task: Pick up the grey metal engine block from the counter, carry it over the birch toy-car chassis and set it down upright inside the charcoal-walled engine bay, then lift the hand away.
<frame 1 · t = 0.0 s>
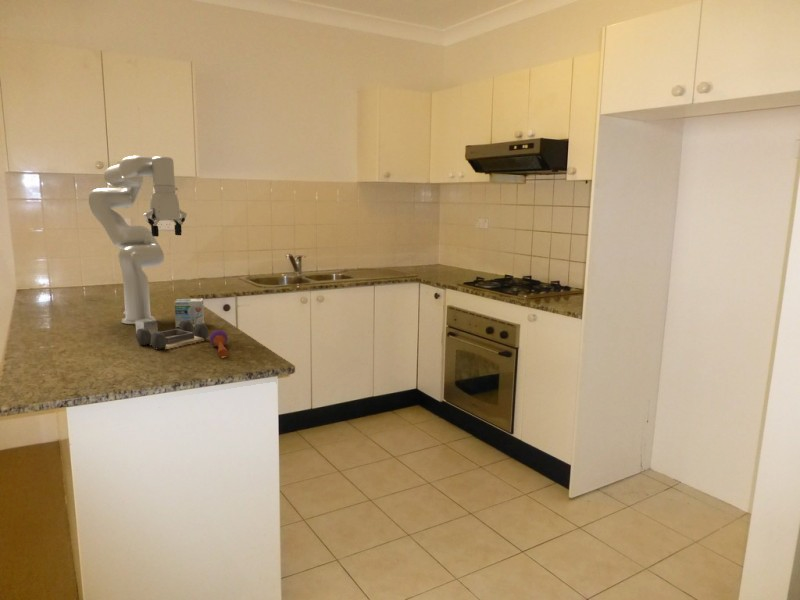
hand: (167, 235, 220), 37 cm above the worktop, tool pointing down, fingers open, 9 cm apart
light bulb box: (190, 326, 233), on the worktop
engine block: (147, 335, 216), on the worktop
chassis board: (172, 342, 207), on the worktop
purple maraca: (220, 351, 196), on the worktop
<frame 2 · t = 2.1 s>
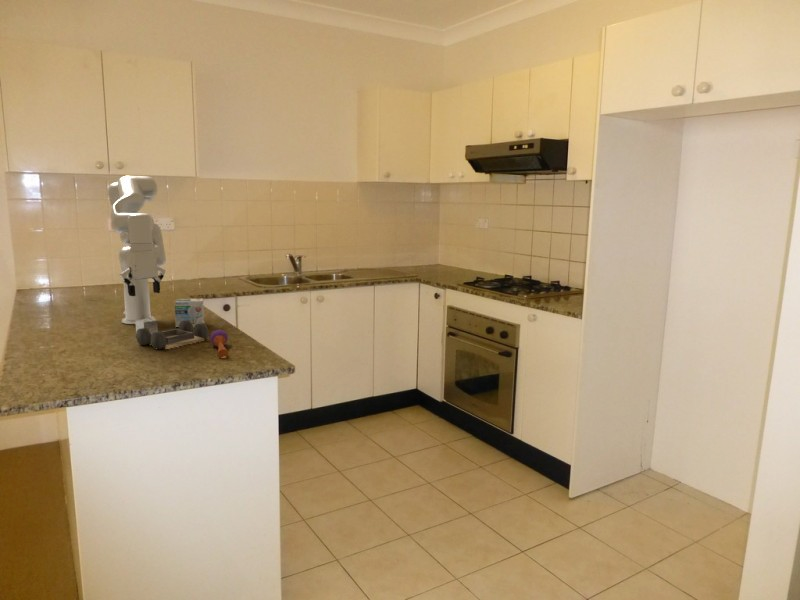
hand: (144, 294, 213), 16 cm above the worktop, tool pointing down, fingers open, 9 cm apart
nothing on the worktop moved.
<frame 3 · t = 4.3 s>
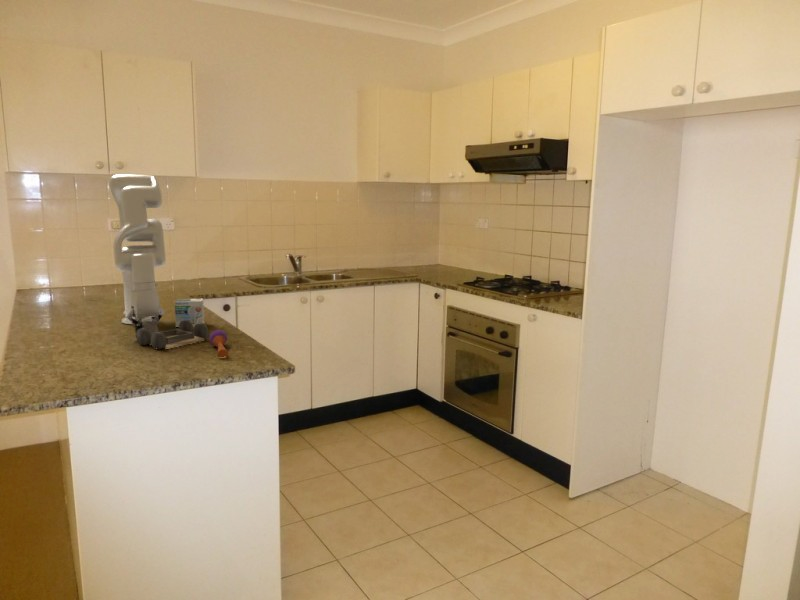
hand: (147, 333, 216), 1 cm above the worktop, tool pointing down, fingers closed on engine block, 5 cm apart
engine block: (147, 335, 216), on the worktop, touching gripper
everything else where it was.
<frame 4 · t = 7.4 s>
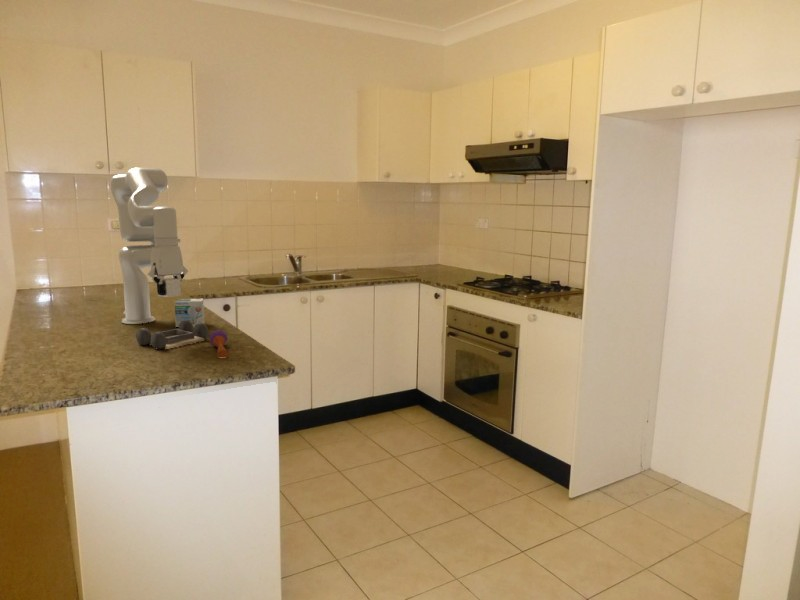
hand: (169, 293, 204), 18 cm above the worktop, tool pointing down, fingers closed on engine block, 5 cm apart
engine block: (169, 295, 204), point 17 cm above the worktop, touching gripper
everything else where it was.
when the fingers open (4 cm above the worktop, at t = 10.4 s): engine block drops 2 cm, resting on chassis board.
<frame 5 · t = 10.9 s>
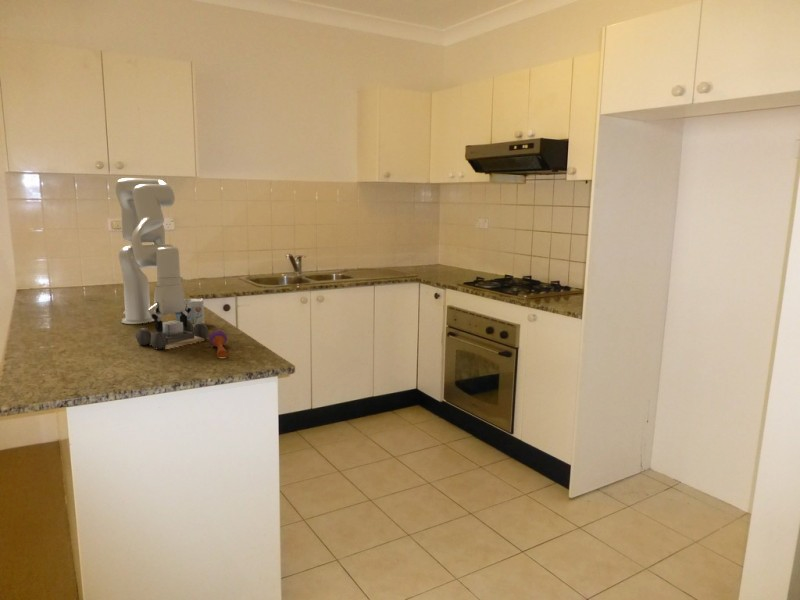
hand: (171, 329, 206), 5 cm above the worktop, tool pointing down, fingers open, 9 cm apart
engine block: (172, 338, 207), point 1 cm above the worktop, touching chassis board
everything else where it was.
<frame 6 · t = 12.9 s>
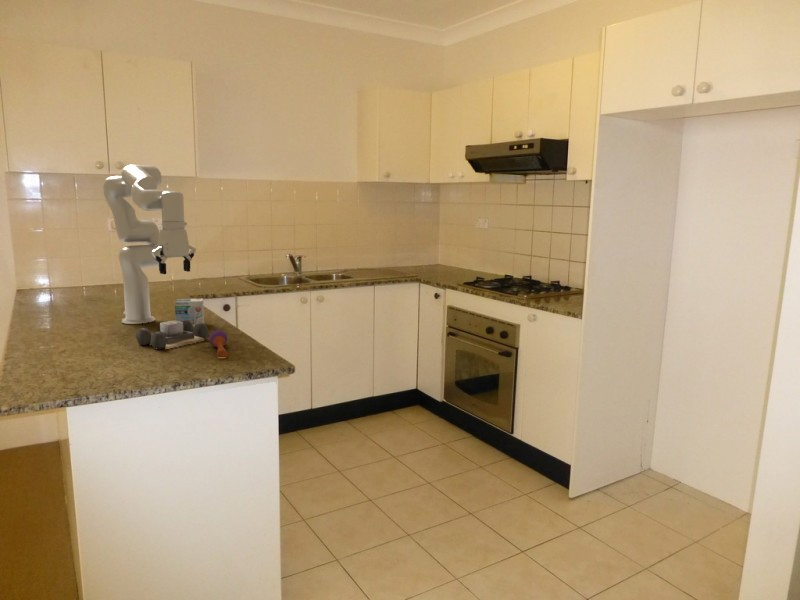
hand: (175, 272, 212), 24 cm above the worktop, tool pointing down, fingers open, 9 cm apart
nothing on the worktop moved.
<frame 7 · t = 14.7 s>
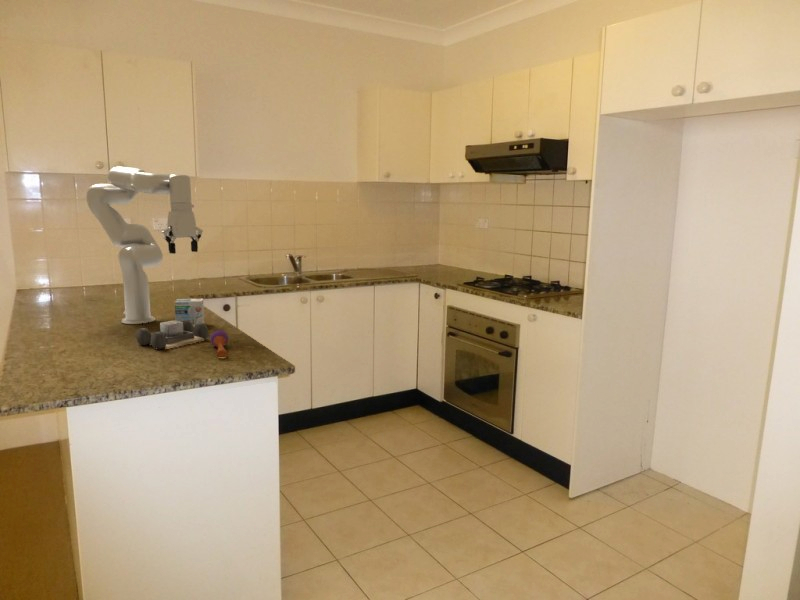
hand: (183, 252, 222), 30 cm above the worktop, tool pointing down, fingers open, 9 cm apart
nothing on the worktop moved.
at the end: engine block 0.1 cm off-centre on the chassis board, point 1.2 cm above the chassis board's base; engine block tilted 0°; the gripper is holding nothing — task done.
